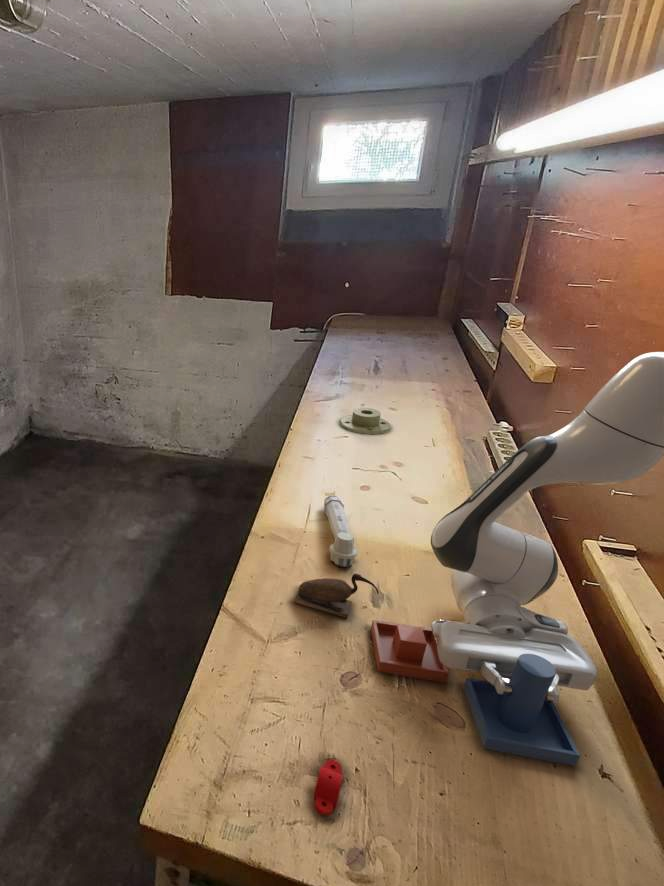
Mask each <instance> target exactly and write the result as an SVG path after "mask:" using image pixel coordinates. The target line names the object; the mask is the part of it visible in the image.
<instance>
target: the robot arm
mask: <svg viewBox="0 0 664 886" xmlns="http://www.w3.org/2000/svg"><path fill="white" fill-rule="evenodd" d="M663 457H664V351H649V352H646V353H642V354H639V355H638V356H636V357H634V358H633V359H632V360H630V361H629V362H628V363H627V364H625V365H624V366H623V367H622V368H621V369H619V371H618V372H617V373H615V374H614V375H613V376H612V377H611V378H610V379H609V380H608V381H607V382H606V383H605V384H604V386H602V387H601V388H600V390H599V391H598V392H597V393H596V394H595V395H594V396H593V398H592V399H590V401H589V402H588V404H587V405H586V406H585V407H584V409H583V410H582V411H581V412H580V413H579V414H578V416H576V417H575V418H574V419H573V420H572V421H571V422H569V423H568V424H567V425H565V426H563V427H561V428H560V429H558V430H557V431H555V432H553V433H550V434H547V435H541V436H537V437H534V438H532V439H531V440H529V441H528V442H527V443H525V444H524V445H523V446H522V447H520V448H519V449H518V450H516V452H515V453H514V454H512V455H511V456H510V457H509V458H508V459H507V460H506V461H505V462H504V463H503V464H502V465H501V466H499V468H497V469H496V470H495V471H494V472H493V473H492V474H491V475H490V476H489V477H488V478H487V479H486V480H484V482H483V483H481V485H480V486H479V487H477V489H476V490H474V491H473V493H472V494H470V495H469V497H467V499H465V500H464V501H463V502H462V503H461V504H460V505H458V506H457V507H456V508H454V509H453V510H451V511H450V512H448V513H447V514H445V515H444V516H443V517H442V518H440V520H439V521H438V522H437V523H436V525H435V526H434V528H433V530H432V533H431V536H430V545H431V549H432V551H433V554H434V556H435V557H436V559H437V560H438V562H439V563H440V564H441V566H442V567H445V568H448V569H451V573H450V583H451V584H450V585H451V590H452V593H453V597H454V600H455V602H456V603H455V604H456V605H457V608H458V609H459V611H460V612H461V614H462V620H463V621H452V620H448V619H441V618H440V619H438V620H435V621H432V622H431V623H430V629H431V630H432V633H433V635H434V636H435V637H436V638H437V651H438V657H439V661H440V662H441V663H442V664H443V665H445V666H446V667H447V668H448V669H454V670H460V671H466V672H471V673H472V672H473V673H478V674H481V676H482V677H483V679H485V681H489V682H490V683H491V684H492V685H494V686H495V688H496V691H497V693H498V694H502V695H508V696H510V695H511V693H510V692H512V689H513V688H512V685H511V684H510V678H511V676H512V673H513V670H514V668H515V665H516V662H517V660H518V657H519V656H520V655H522V654H534V655H538V656H540V657H542V658H544V659H546V660H548V661H549V662H550V663H551V664H552V665H553V666H554V667H555V669H556V675H555V677H554V680H553V682H552V684H551V687H550V689H549V691H548V694H547V696H546V698H545V701H544V702H548V703H554V704H555V705H557V704H558V702H559V701H560V693H559V691H558V689H557V687H563V688H569V689H575V690H581V691H589V689H591V687H592V686H593V685H594V683H595V681H596V679H597V676H598V669H597V667H596V665H595V663H594V661H593V660H592V659H591V657H590V655H589V653H587V651H586V650H585V648H584V647H583V646H582V645H581V644H580V642H579V641H578V640H577V639H576V638H574V637H572V636H570V635H568V633H569V627H568V626H567V624H566V623H565V622H563V621H561V620H558V619H555V618H552V617H549V616H546V615H542V614H540V613H537V612H535V611H533V610H530V609H528V608H526V607H524V606H526V605H529V604H530V603H532V602H533V601H535V600H536V599H538V598H539V597H541V596H542V595H544V594H545V593H547V591H548V590H550V589H551V587H552V586H553V585H554V583H555V582H556V580H557V578H558V575H559V562H558V561H559V560H558V555H557V553H556V551H555V549H554V547H553V546H552V545H551V543H550V542H549V541H547V540H543V539H542V538H539V537H537V536H534V535H532V534H529V533H526V532H524V531H520V530H518V529H515V528H511V527H508V526H506V525H504V524H501V523H498V522H496V521H497V520H498V519H499V518H500V517H501V516H503V515H504V514H505V513H506V512H507V511H508V510H510V508H511V507H512V506H513V505H515V504H516V503H517V502H518V501H519V500H520V499H522V498H523V497H524V496H525V495H526V494H527V493H529V492H530V491H532V490H534V489H537V488H539V487H543V486H549V485H555V484H556V485H557V484H582V485H583V484H584V485H598V486H599V485H600V486H601V485H614V484H621V483H626V482H629V481H631V480H635V479H637V478H639V477H641V476H642V475H644V474H645V473H647V472H649V470H651V469H652V468H653V467H654V466H655V465H657V463H658V462H659V461H660V460H661V459H662V458H663Z"/></svg>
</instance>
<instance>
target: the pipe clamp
mask: <svg viewBox="0 0 664 886" xmlns="http://www.w3.org/2000/svg"><path fill="white" fill-rule="evenodd" d="M343 777H344V775H343V774H342V765H341V764H340V762H338V761H337V760H335V759H327V760H326V761H325V762H324V766H322V765H321V766H320V768H319V773H318V776H317V780H316V785H315V789H314V793H313V798H315V802H314V808H315V810H316V811H317V812H318V813H319V815H323V816H330V815H332V813H333V810H334V807H335V808H336V807H337V806H338V800H339V796H340V791H341V787H342V783H343V782H342V781H343Z"/></svg>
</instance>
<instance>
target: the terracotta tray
mask: <svg viewBox="0 0 664 886" xmlns="http://www.w3.org/2000/svg"><path fill="white" fill-rule="evenodd" d="M397 624H398V623H394V622H388V621H381V620H375V619H373V620H372V621H371V626H370V632H371V633H370V634H371V638H372V644H373V651H374V656H375V662H376V668H377V672H381V673H387V674H391V675H398V676H404V677H410V678H416V679H421V680H427V681H433V682H439V683H443V684H444V683H445V684H446V683H447V682H448V678H449V675H450V672H449V668H448V667H446V666H445V665H443V664H442V663H441V662H440V661H439V657H438V651H437V638H436V637H435V636H434V635H433V633H432V630H431V628H430V627H429V628H428V627H421V626H420V627H421V628H422V629H423V632H424V636H425V639H426V643H427V646H426V650H425V653H424V657H423V661H422V662H417V661H411V660H405V659H399V658H396V655H395V650H394V645H393V638H394V634H395V630H396V625H397ZM400 624H401V623H400ZM401 625H403V624H401ZM406 625H407V626H410V625H408V624H406ZM413 626H414V627H416V626H415V625H413Z"/></svg>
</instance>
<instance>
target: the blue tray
mask: <svg viewBox="0 0 664 886" xmlns="http://www.w3.org/2000/svg"><path fill="white" fill-rule="evenodd" d="M462 689H463V691H464V694H465V698H466V700H467V703H468V706H469V709H470V713H471V714H472V717H473V720H474V724H475V726H476V730H477V733H478V735H479V740H480V742H481V744H482V748H483V749H486V750H490V751H491V750H492V751H495V752H502V753H506V754H512V755H516V756H521V757H522V756H523V757H527V758H531V759H532V758H533V759H538V760H543V761H547V762H554V763H558V764H564V765H567V766H568V765H569V766H574V767H576V766H577V764H578V762H579V760H580V758H581V754H580V752H579V750H578V748H577V746H576V744H575V742H574V740H573V738H572V736H571V734H570V732H569V730H568V728H567V726H566V723H565V722H564V720H563V718H562V716H561V714H560V711H559V710H558V708H557V706H556V704H554V703H548V702H544V703H543V705H542V708H541V710H540V712H539V715H538V717H537V720H536V722H535V724H534V727H533V729H532V730H531V731H530V732H528V733H519V732H516V731H513V730H511V729H509V728H508V727H506V726H505V725H504V724H503V723H502V722H501V721H500V720H499V718H498V710H499V707H500V705H501V702H502V699H503V697H504V695H502V694H498V693H497V691H496V688H495V686H494V685H492V684H491V683H490V682H489V681H488V680H483V679H476V678H471V677H465V680H464V684H463V687H462Z"/></svg>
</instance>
